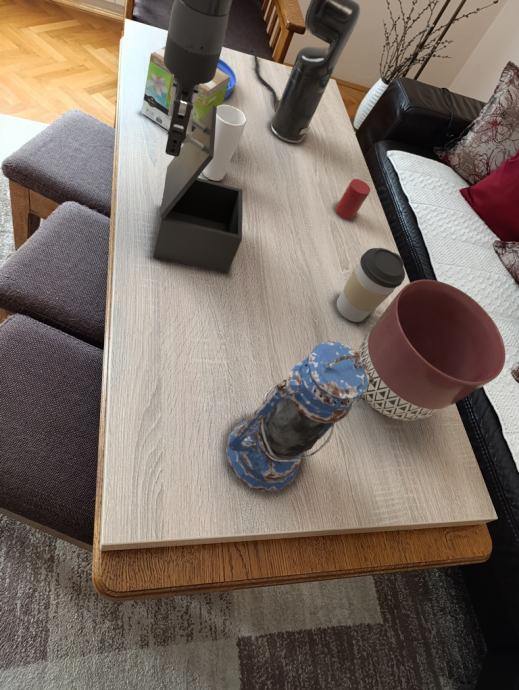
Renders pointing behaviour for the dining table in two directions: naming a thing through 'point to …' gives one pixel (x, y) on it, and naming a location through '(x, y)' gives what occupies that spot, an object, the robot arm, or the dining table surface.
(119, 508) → the dining table surface
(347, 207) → the red cup
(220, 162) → the white vase
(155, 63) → the tea box
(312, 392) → the lantern
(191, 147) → the box lid
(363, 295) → the coffee cup
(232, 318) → the dining table surface
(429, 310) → the planter
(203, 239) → the dark box
